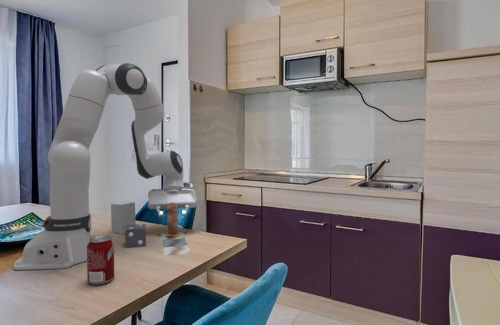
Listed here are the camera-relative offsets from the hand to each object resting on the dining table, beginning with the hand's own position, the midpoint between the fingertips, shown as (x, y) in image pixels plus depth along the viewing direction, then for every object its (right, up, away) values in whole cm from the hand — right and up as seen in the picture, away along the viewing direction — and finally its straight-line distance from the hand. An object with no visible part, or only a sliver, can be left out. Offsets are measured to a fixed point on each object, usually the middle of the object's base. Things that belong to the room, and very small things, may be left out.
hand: (172, 215), depth 126 cm
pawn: (0, -9, +1) cm, 9 cm away
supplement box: (-24, -9, +9) cm, 27 cm away
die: (-11, -9, -10) cm, 18 cm away
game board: (+3, -9, -8) cm, 12 cm away
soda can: (-10, -11, -41) cm, 43 cm away
